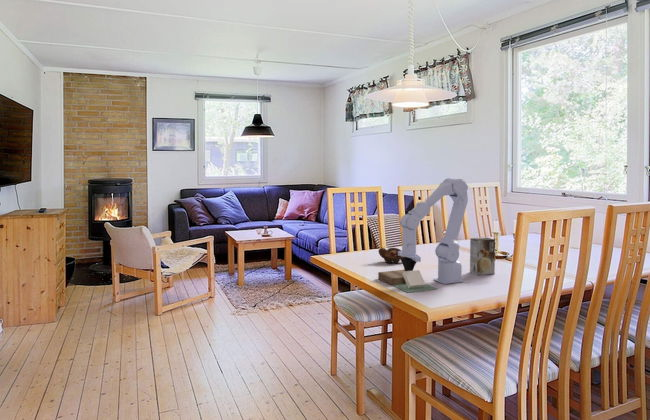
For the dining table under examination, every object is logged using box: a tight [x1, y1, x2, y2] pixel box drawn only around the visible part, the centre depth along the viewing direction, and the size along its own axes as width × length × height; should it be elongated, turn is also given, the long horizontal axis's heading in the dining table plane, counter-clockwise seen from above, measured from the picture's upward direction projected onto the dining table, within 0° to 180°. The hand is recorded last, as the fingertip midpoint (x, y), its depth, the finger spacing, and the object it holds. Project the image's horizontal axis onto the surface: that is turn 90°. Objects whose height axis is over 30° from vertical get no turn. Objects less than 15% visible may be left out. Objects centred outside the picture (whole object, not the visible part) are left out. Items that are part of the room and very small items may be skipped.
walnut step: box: [377, 269, 406, 286], centre depth 201 cm, size 14×12×3 cm
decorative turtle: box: [378, 247, 404, 264], centre depth 238 cm, size 10×15×8 cm, turn 99°
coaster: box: [403, 269, 426, 288], centre depth 190 cm, size 7×7×2 cm
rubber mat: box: [391, 283, 438, 294], centre depth 191 cm, size 14×12×1 cm
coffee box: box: [469, 237, 496, 276], centre depth 214 cm, size 9×6×16 cm
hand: (408, 275), depth 194 cm, fingers closed
